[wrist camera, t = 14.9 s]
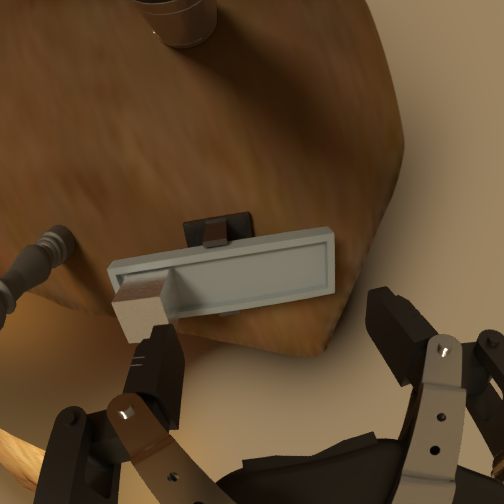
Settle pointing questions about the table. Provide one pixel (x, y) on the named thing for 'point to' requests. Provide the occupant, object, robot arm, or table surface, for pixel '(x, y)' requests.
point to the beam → (244, 271)
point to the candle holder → (34, 266)
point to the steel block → (147, 302)
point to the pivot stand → (218, 234)
